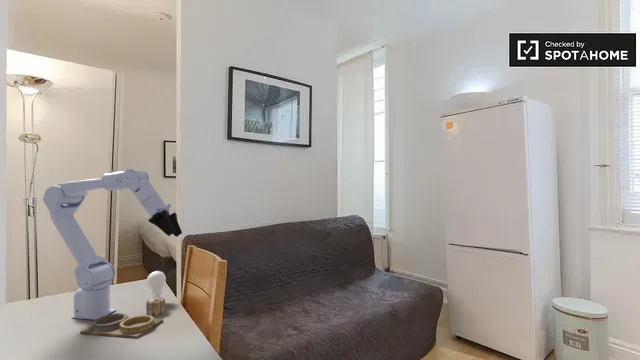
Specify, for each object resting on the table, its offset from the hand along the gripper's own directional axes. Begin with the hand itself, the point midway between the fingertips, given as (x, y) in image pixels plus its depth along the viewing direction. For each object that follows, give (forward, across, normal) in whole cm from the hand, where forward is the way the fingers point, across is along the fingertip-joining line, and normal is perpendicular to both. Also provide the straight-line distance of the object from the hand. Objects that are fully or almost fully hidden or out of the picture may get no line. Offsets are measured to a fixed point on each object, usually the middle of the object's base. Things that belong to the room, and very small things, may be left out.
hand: (175, 234), depth 103 cm
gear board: (+13, 0, +27) cm, 30 cm away
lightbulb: (+12, +20, +23) cm, 33 cm away
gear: (+15, +10, +21) cm, 28 cm away
